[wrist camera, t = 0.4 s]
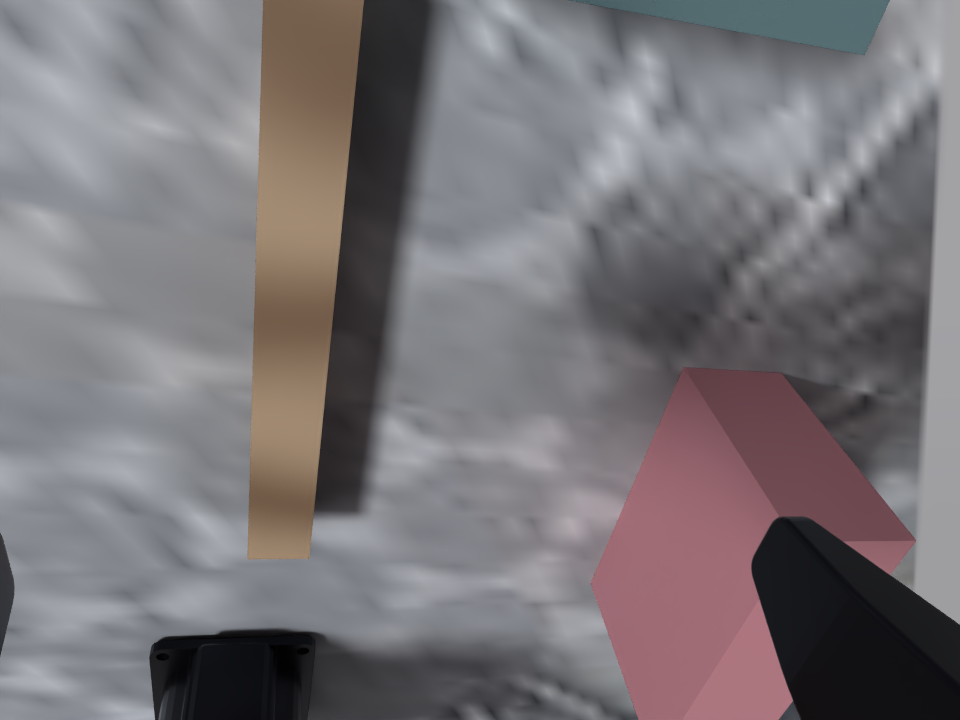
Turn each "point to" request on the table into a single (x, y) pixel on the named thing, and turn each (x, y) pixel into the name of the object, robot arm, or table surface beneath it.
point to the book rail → (297, 257)
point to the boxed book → (724, 543)
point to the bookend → (773, 18)
